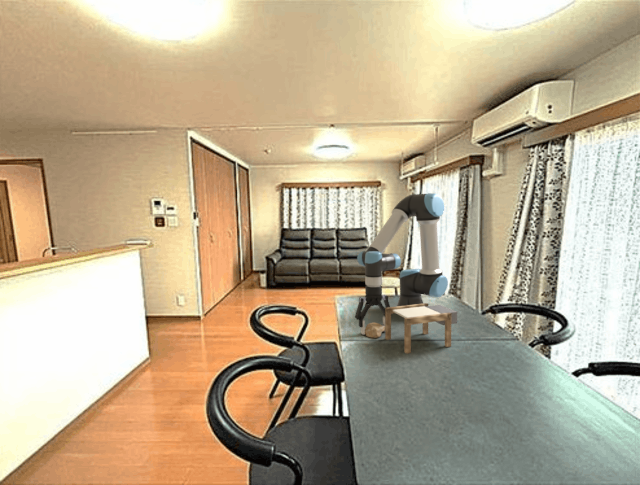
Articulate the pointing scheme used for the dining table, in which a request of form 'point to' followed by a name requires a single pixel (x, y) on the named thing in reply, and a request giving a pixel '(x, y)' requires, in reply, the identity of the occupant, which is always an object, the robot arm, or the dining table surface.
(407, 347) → the frame
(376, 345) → the dining table surface
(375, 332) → the stone
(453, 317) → the trapdoor
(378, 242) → the robot arm
